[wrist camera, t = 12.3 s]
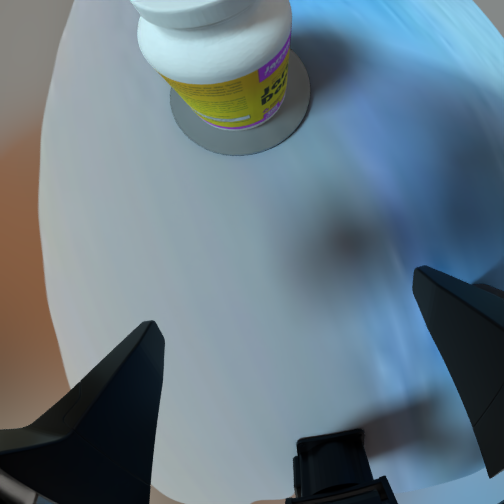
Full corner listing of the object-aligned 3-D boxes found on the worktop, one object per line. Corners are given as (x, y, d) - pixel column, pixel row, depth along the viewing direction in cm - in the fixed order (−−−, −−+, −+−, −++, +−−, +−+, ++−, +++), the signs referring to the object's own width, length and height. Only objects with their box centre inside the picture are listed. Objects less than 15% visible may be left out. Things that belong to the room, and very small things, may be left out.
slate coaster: (292, 27, 18) (292, 24, 17) (322, 143, 19) (324, 141, 18) (166, 53, 19) (164, 50, 18) (182, 169, 20) (179, 168, 20)
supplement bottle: (274, 142, 19) (271, 48, 6) (181, 125, 19) (70, 46, 6) (294, 59, 18) (309, -74, 5) (206, 46, 18) (144, -71, 5)
